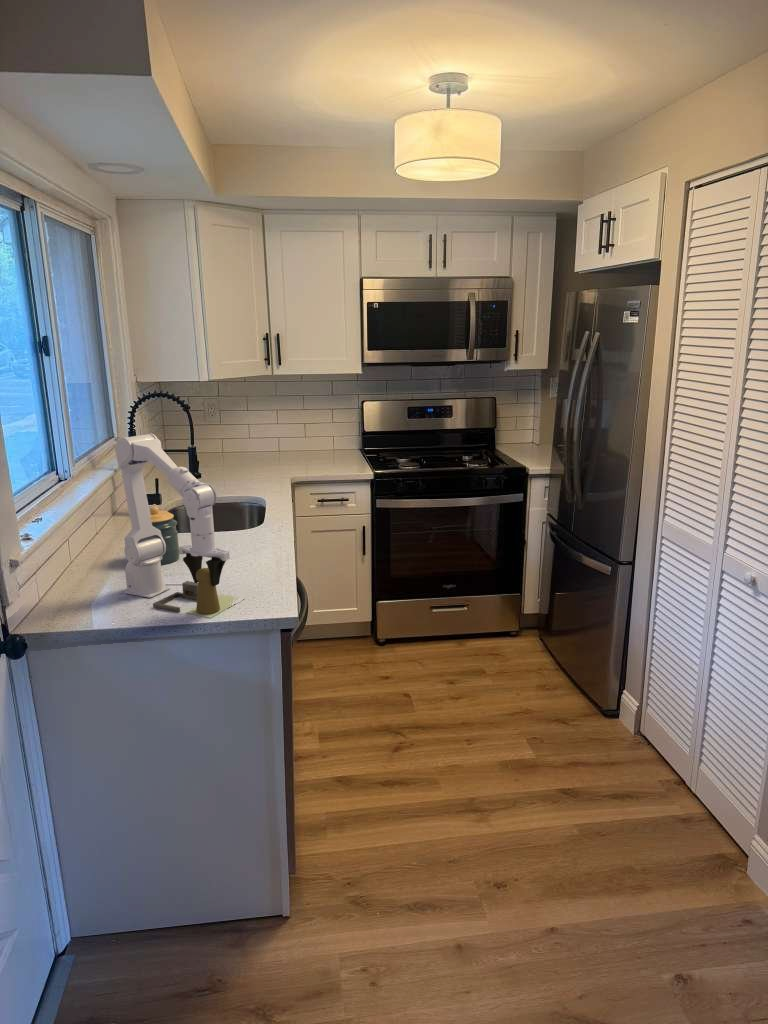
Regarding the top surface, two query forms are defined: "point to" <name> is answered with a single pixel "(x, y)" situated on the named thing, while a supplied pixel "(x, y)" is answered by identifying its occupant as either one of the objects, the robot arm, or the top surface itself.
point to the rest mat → (223, 602)
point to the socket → (186, 588)
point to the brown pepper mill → (206, 593)
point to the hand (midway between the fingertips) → (206, 583)
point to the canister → (166, 533)
